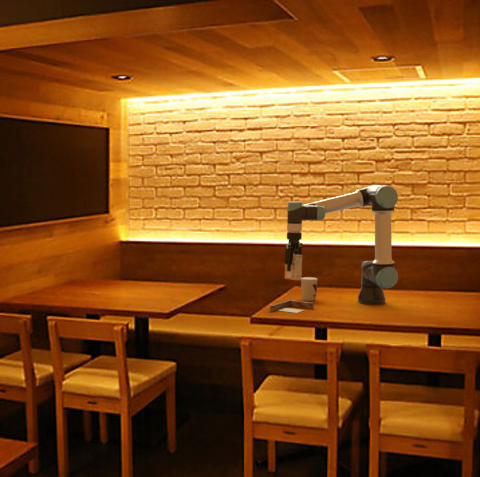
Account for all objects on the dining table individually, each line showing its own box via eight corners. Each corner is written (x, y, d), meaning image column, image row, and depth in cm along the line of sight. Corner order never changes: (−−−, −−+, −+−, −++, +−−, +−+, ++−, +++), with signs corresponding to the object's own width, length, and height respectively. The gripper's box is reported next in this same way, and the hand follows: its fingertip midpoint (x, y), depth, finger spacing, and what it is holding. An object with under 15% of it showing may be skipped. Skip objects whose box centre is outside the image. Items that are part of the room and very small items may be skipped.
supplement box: (283, 278, 353) (284, 253, 351) (290, 278, 355) (291, 253, 354) (294, 280, 346) (295, 255, 345) (301, 280, 349) (302, 254, 348)
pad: (304, 310, 352) (304, 310, 352) (296, 313, 345) (296, 312, 345) (285, 308, 358) (285, 307, 358) (277, 310, 351) (277, 310, 351)
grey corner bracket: (313, 308, 358) (313, 302, 358) (294, 314, 341) (294, 308, 341) (289, 305, 366) (289, 299, 366) (270, 311, 349) (270, 305, 349)
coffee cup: (316, 301, 378) (316, 279, 377) (299, 300, 380) (300, 279, 379) (318, 298, 388) (318, 277, 386) (301, 297, 389) (301, 276, 388)
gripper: (297, 230, 358) (296, 274, 360) (278, 232, 343) (276, 278, 345) (309, 231, 354) (308, 275, 356) (290, 233, 339) (289, 279, 341)
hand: (293, 276), depth 351 cm, fingers closed on supplement box, 6 cm apart
